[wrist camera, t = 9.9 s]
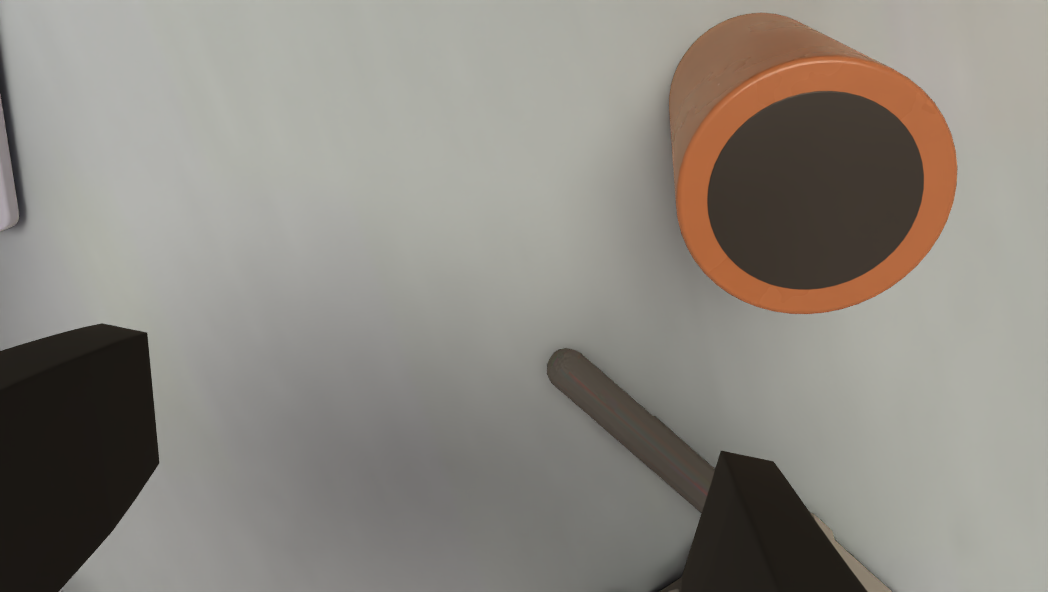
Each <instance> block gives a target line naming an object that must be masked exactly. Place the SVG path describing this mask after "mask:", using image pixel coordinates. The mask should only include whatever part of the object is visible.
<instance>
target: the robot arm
mask: <svg viewBox="0 0 1048 592" xmlns="http://www.w3.org/2000/svg"><path fill="white" fill-rule="evenodd" d="M18 220H19V210H18V204H17V197H16V191H15V184H14V178H13V172H12V165H11V159H10V153H9V146H8V140H7V133H6V127H5V121H4V114H3V108H2V102H1V95H0V231H3V230H6V229H8V228H10V227H12V226H14V225H16V224H17V222H18ZM158 464H159V454H158V443H157V432H156V422H155V411H154V400H153V390H152V379H151V369H150V358H149V347H148V337H147V333H146V332H141V331H136V330H131V329H127V328H122V327H117V326H112V325H107V324H97V325H93V326H88V327H83V328H79V329H75V330H71V331H67V332H63V333H60V334H56V335H52V336H49V337H45V338H42V339H39V340H35V341H32V342H28V343H25V344H22V345H19V346H15V347H12V348H9V349H5V350H2V351H0V592H59V590H60V589H61V588H62V587H63V586H64V585H65V584H66V583H67V582H68V581H69V579H70V578H71V577H72V576H73V575H74V574H75V573H76V572H77V571H78V569H79V568H80V567H81V566H82V565H83V564H84V563H85V562H86V560H87V559H88V558H89V557H90V556H91V555H92V554H93V553H94V552H95V550H96V549H97V548H98V547H99V546H100V545H101V544H102V542H103V541H104V540H105V539H106V538H107V537H108V536H109V534H110V533H111V532H112V531H113V530H114V528H115V527H116V525H117V524H118V523H119V521H120V520H121V519H122V517H123V516H124V514H125V513H126V512H127V510H128V509H129V507H130V506H131V505H132V503H133V502H134V501H135V499H136V498H137V496H138V495H139V493H140V492H141V490H142V489H143V487H144V485H145V484H146V482H147V481H148V479H149V478H150V476H151V475H152V473H153V472H154V470H155V469H156V467H157V466H158ZM681 592H868V591H867V590H866V589H865V587H864V586H863V585H862V583H861V582H860V581H859V579H858V578H857V577H856V575H855V574H854V573H853V571H852V570H851V569H850V567H849V566H848V565H847V563H846V562H845V561H844V559H843V558H842V557H841V555H840V554H839V553H838V551H837V550H836V548H835V547H834V546H833V544H832V543H831V542H830V540H829V539H828V537H827V536H826V535H825V533H824V532H823V530H822V529H821V528H820V526H819V525H818V523H817V522H816V521H815V519H814V518H813V516H812V515H811V513H810V512H809V511H808V509H807V508H806V506H805V505H804V504H803V502H802V501H801V499H800V498H799V496H798V495H797V494H796V492H795V491H794V489H793V488H792V486H791V485H790V484H789V482H788V481H787V479H786V478H785V477H784V475H783V474H782V472H781V471H780V470H779V468H778V467H777V466H776V464H775V463H774V462H773V461H768V460H764V459H759V458H754V457H749V456H744V455H739V454H734V453H730V452H725V451H721V453H720V456H719V459H718V462H717V465H716V469H715V472H714V475H713V478H712V482H711V485H710V488H709V491H708V494H707V498H706V501H705V504H704V507H703V511H702V514H701V517H700V520H699V523H698V527H697V530H696V533H695V536H694V540H693V543H692V546H691V549H690V552H689V556H688V559H687V562H686V565H685V569H684V572H683V575H682V578H681Z"/></svg>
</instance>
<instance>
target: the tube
mask: <svg viewBox="0 0 1048 592" xmlns="http://www.w3.org/2000/svg"><path fill="white" fill-rule="evenodd" d="M669 113H670V127H671V141H672V156H673V170H674V184H675V199H676V209H677V218H678V222H679V226H680V230H681V234H682V236H683V239H684V241H685V244H686V246H687V248H688V250H689V252H690V254H691V255H692V257H693V259H694V260H695V262H696V263H697V264H698V266H699V267H700V268H701V269H702V271H703V272H704V273H705V274H706V275H707V276H708V277H709V278H710V279H711V280H712V281H713V282H714V283H715V284H716V285H718V286H719V287H720V288H722V289H723V290H725V291H726V292H727V293H729V294H731V295H732V296H734V297H736V298H738V299H740V300H742V301H744V302H746V303H749V304H751V305H754V306H756V307H760V308H764V309H767V310H771V311H776V312H783V313H790V314H813V313H824V312H829V311H834V310H839V309H843V308H846V307H850V306H853V305H856V304H859V303H861V302H863V301H866V300H868V299H870V298H872V297H875V296H876V295H878V294H880V293H882V292H883V291H885V290H887V289H889V288H890V287H892V286H893V285H894V284H896V283H897V282H898V281H900V280H901V279H902V278H904V277H905V276H906V275H907V274H908V273H909V272H910V271H911V270H913V269H914V268H915V267H916V266H917V265H918V264H919V263H920V261H921V260H922V259H923V258H924V257H925V256H926V254H927V253H928V252H929V251H930V249H931V248H932V246H933V245H934V243H935V242H936V240H937V239H938V237H939V236H940V234H941V232H942V230H943V228H944V226H945V224H946V222H947V219H948V216H949V213H950V210H951V207H952V204H953V201H954V196H955V190H956V185H957V159H956V150H955V146H954V143H953V139H952V135H951V132H950V130H949V128H948V125H947V123H946V121H945V119H944V117H943V115H942V114H941V112H940V110H939V109H938V107H937V106H936V104H935V103H934V102H933V100H932V99H931V98H930V97H929V96H928V95H927V94H926V93H925V92H924V91H923V89H921V88H920V87H919V86H918V85H916V84H915V83H914V82H913V81H911V80H910V79H909V78H908V77H906V76H904V75H902V74H901V73H899V72H897V71H895V70H894V69H892V68H890V67H888V66H886V65H884V64H882V63H880V62H878V61H876V60H874V59H872V58H870V57H868V56H866V55H864V54H862V53H860V52H858V51H856V50H854V49H852V48H850V47H848V46H846V45H844V44H842V43H840V42H838V41H836V40H834V39H832V38H830V37H828V36H826V35H824V34H822V33H820V32H818V31H816V30H814V29H812V28H810V27H808V26H806V25H804V24H802V23H800V22H798V21H796V20H793V19H791V18H788V17H785V16H781V15H777V14H770V13H752V14H746V15H740V16H737V17H734V18H731V19H728V20H726V21H724V22H722V23H719V24H718V25H716V26H714V27H713V28H711V29H709V30H708V31H707V32H706V33H704V34H703V35H702V36H700V37H699V38H698V39H697V40H696V41H695V42H694V43H693V44H692V45H691V47H690V48H689V49H688V51H687V52H686V53H685V55H684V56H683V58H682V60H681V61H680V63H679V65H678V67H677V69H676V72H675V74H674V77H673V80H672V84H671V89H670V95H669Z"/></svg>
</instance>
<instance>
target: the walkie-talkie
mask: <svg viewBox="0 0 1048 592" xmlns="http://www.w3.org/2000/svg"><path fill="white" fill-rule="evenodd" d="M547 375H548V377H549V379H550V381H551V383H552V384H553V385H555V386H556V387H557V388H558V389H559V390H560V391H561V392H563V393H564V394H565V395H566V396H567V397H568V398H570V399H571V400H572V401H573V402H574V403H575V404H576V405H578V406H579V407H580V408H581V409H582V410H583V411H584V412H586V413H587V414H588V415H589V416H590V417H591V418H593V419H594V420H595V421H596V422H597V423H598V424H599V425H601V426H602V427H603V428H604V429H605V430H606V431H608V432H609V433H610V434H611V435H612V436H613V437H614V438H616V439H617V440H618V441H619V442H620V443H621V444H623V445H624V446H625V447H626V448H627V449H628V450H629V451H631V452H632V453H633V454H634V455H635V456H636V457H638V458H639V459H640V460H641V461H642V462H643V463H644V464H646V465H647V466H648V467H649V468H650V469H651V470H652V471H654V472H655V473H656V474H657V475H658V476H659V477H661V478H662V479H663V480H664V481H665V482H666V483H667V484H669V485H670V486H671V487H672V488H673V489H674V490H676V491H677V492H678V493H679V494H680V495H681V496H682V497H684V498H685V499H686V500H687V501H688V502H689V503H691V504H692V505H693V506H694V507H695V508H696V509H697V510H699V511H700V512H701V513H702V511H703V507H704V504H705V501H706V498H707V494H708V491H709V488H710V485H711V482H712V478H713V475H714V472H715V469H714V468H713V467H712V466H711V465H710V464H709V463H707V462H706V461H705V460H704V459H703V458H702V457H701V456H699V455H698V454H697V453H696V452H695V451H694V450H693V449H692V448H690V447H689V446H688V445H687V444H686V443H685V442H684V441H683V440H681V439H680V438H679V437H678V436H677V435H676V434H675V433H673V432H672V431H671V430H670V429H669V428H668V427H667V426H666V425H664V424H663V423H662V422H661V421H660V420H659V419H658V418H656V417H655V416H652V415H651V414H650V413H649V412H647V411H646V410H645V409H644V408H643V407H642V406H641V405H639V404H638V403H637V402H636V401H635V400H634V399H633V398H631V397H630V396H629V395H628V394H627V393H626V392H625V391H623V390H622V389H621V388H620V387H619V386H618V385H617V384H615V383H614V382H613V381H612V380H611V379H610V378H609V377H607V376H606V375H605V374H604V373H603V372H602V371H600V370H599V369H598V368H597V367H596V366H595V365H594V364H592V363H591V362H590V361H589V360H588V359H587V358H586V357H584V356H583V355H582V354H581V353H579V352H577V351H575V350H572V349H568V348H564V349H560V350H558V351H556V352H554V354H553V355H552V356H551V358H550V359H549V362H548V364H547ZM811 515H812V516H813V518H814V519H815V521H816V522H817V523H818V525H819V526H820V528H821V529H822V530H823V532H824V533H825V535H826V536H827V537H828V539H829V540H830V542H831V543H832V544H833V546H834V547H835V548H836V550H837V551H838V553H839V554H840V555H841V557H842V558H843V559H844V561H845V562H846V563H847V565H848V566H849V567H850V569H851V570H852V571H853V573H854V574H855V575H856V577H857V578H858V579H859V581H860V582H861V583H862V585H863V586H864V587H865V589H866V590H867V591H868V592H892V591H891V590H890V589H889V588H887V587H886V586H885V585H884V584H883V583H882V582H881V581H880V580H879V579H877V578H876V577H875V576H874V575H873V574H872V573H871V572H870V571H868V570H867V569H866V568H865V567H864V566H863V565H862V564H861V563H860V562H858V561H857V560H856V559H855V558H854V557H853V556H852V555H851V554H850V553H848V552H847V551H846V550H845V549H844V548H843V547H842V546H841V545H839V544H838V543H837V542H836V541H835V539H834V536H833V532H832V530H831V529H830V528H829V527H828V526H826V525H825V524H824V523H823V522H822V521H821V520H820V519H819V518H817V517H816V516H815V515H814V514H813V513H811ZM681 578H682V577H681ZM681 578H680V579H678V580H677V581H675V582H674V583H672V584H671V585H669V586H667V587H666V588H664V589H663V590H661V591H660V592H681Z"/></svg>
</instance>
